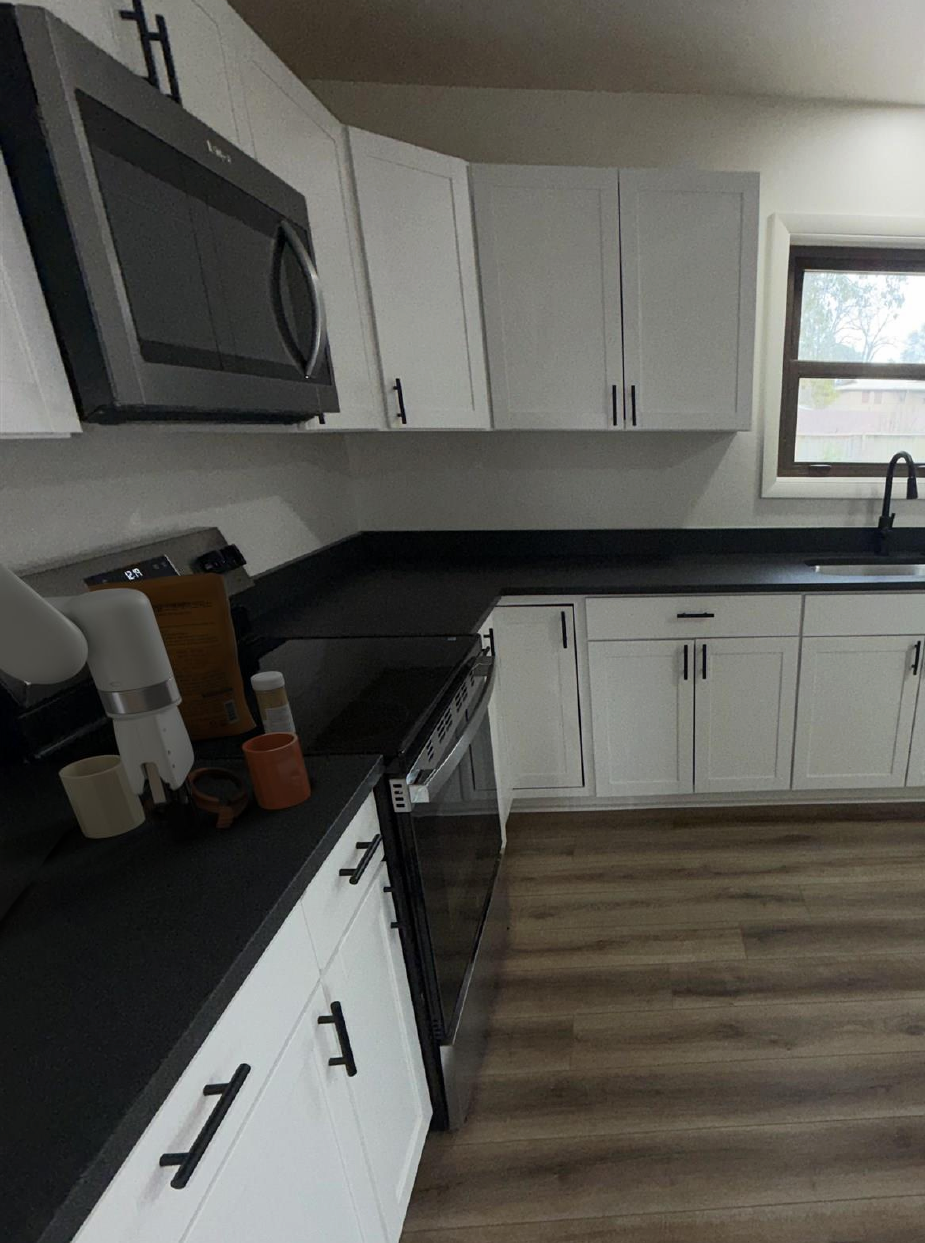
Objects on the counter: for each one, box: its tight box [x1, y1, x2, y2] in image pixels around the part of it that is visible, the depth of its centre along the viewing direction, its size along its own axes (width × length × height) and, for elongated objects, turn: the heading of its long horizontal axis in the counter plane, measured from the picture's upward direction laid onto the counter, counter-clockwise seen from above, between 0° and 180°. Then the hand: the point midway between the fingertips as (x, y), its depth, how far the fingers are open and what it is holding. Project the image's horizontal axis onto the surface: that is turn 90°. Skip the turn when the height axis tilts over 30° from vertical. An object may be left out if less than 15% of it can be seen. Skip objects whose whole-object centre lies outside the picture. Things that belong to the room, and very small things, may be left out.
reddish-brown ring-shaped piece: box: [142, 766, 249, 829], centre depth 99 cm, size 12×10×8 cm
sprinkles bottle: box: [250, 670, 297, 735], centre depth 119 cm, size 5×5×13 cm
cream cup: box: [58, 754, 146, 839], centre depth 98 cm, size 7×7×9 cm
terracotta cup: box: [241, 732, 312, 810], centre depth 105 cm, size 7×7×9 cm
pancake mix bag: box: [80, 572, 257, 742], centre depth 121 cm, size 7×19×28 cm, turn 113°
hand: (186, 827), depth 94 cm, fingers closed
